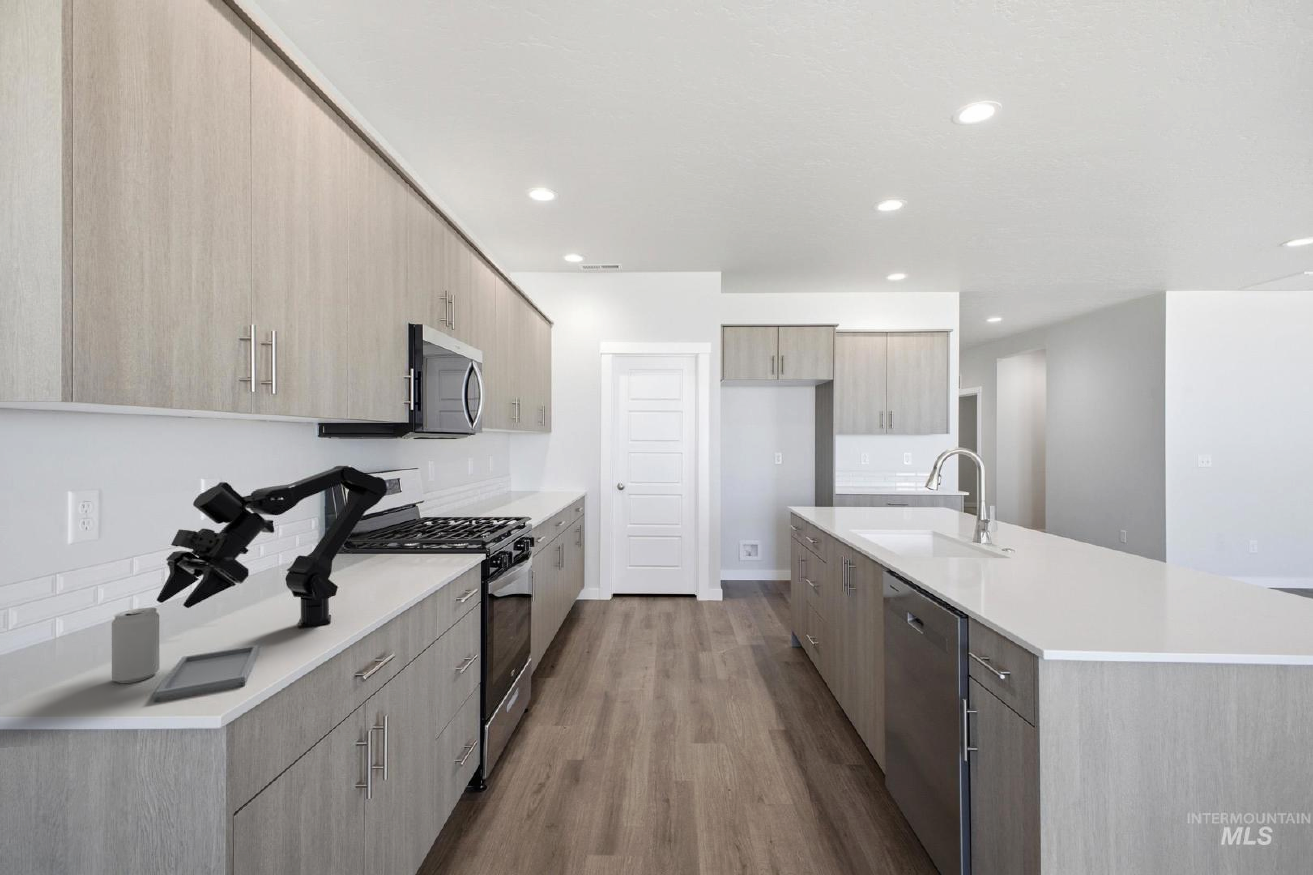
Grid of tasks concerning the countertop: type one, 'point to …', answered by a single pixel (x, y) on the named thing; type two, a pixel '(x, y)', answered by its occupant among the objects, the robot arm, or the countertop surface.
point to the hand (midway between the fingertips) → (171, 604)
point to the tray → (208, 673)
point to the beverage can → (135, 645)
